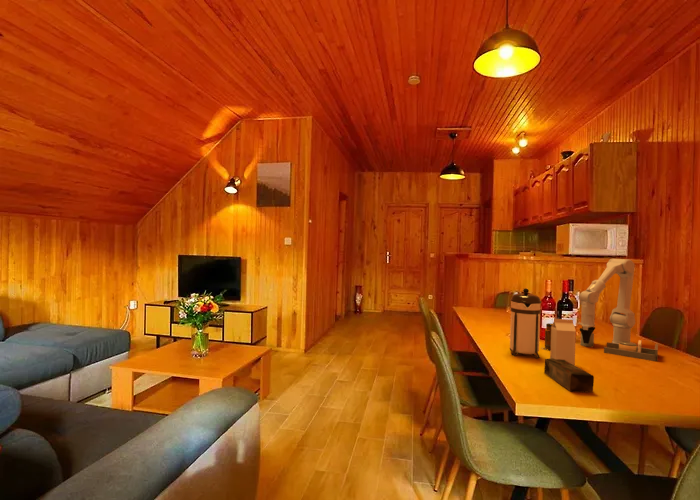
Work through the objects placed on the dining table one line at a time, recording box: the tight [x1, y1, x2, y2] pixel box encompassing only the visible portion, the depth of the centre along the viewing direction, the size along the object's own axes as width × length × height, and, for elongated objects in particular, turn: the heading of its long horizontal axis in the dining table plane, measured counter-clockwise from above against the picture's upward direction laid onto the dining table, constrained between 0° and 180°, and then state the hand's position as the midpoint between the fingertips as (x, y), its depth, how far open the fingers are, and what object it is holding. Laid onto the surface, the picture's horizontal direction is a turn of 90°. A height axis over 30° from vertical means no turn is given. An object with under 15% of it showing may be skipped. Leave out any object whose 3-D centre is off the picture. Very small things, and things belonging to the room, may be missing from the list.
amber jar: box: [619, 341, 638, 352], centre depth 176 cm, size 7×7×5 cm
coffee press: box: [509, 288, 542, 359], centre depth 172 cm, size 17×16×30 cm
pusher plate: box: [637, 339, 643, 353], centre depth 173 cm, size 10×1×6 cm, turn 140°
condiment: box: [541, 322, 553, 351], centre depth 180 cm, size 7×8×12 cm
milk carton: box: [549, 318, 577, 366], centre depth 156 cm, size 7×7×19 cm
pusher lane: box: [603, 341, 659, 362], centre depth 175 cm, size 13×20×5 cm, turn 50°
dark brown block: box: [543, 357, 595, 394], centre depth 135 cm, size 8×19×7 cm, turn 178°
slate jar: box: [580, 331, 595, 348], centre depth 189 cm, size 6×6×7 cm
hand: (587, 342), depth 189 cm, fingers closed on slate jar, 6 cm apart
